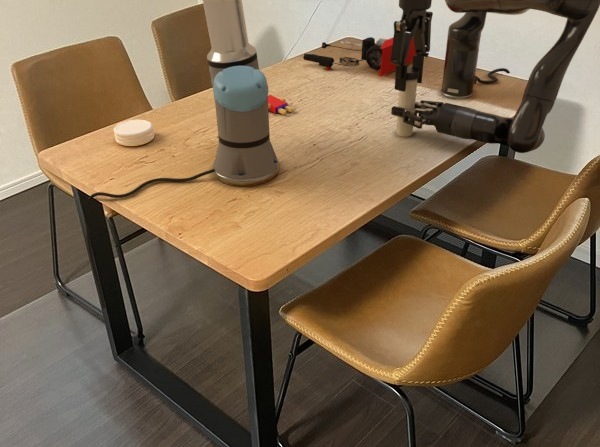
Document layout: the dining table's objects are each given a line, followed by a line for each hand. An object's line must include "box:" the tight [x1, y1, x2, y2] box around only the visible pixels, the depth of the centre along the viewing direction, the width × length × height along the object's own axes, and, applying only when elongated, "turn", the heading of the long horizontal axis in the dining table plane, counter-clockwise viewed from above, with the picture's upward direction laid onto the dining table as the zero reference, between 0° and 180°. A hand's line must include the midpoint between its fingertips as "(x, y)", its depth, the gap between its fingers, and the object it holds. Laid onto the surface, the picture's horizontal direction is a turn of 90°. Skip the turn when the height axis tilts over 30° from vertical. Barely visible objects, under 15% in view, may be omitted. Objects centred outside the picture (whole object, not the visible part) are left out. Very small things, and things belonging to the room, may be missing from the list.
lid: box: [406, 66, 420, 80], centre depth 154 cm, size 5×5×2 cm
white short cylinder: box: [113, 118, 155, 147], centre depth 161 cm, size 10×10×4 cm
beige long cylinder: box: [395, 79, 418, 138], centre depth 158 cm, size 4×4×16 cm
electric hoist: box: [302, 36, 417, 77], centre depth 210 cm, size 10×27×30 cm
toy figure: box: [268, 94, 294, 115], centre depth 178 cm, size 2×7×12 cm
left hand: (408, 85), depth 156 cm, fingers open, 7 cm apart
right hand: (396, 107), depth 160 cm, fingers closed on beige long cylinder, 4 cm apart
